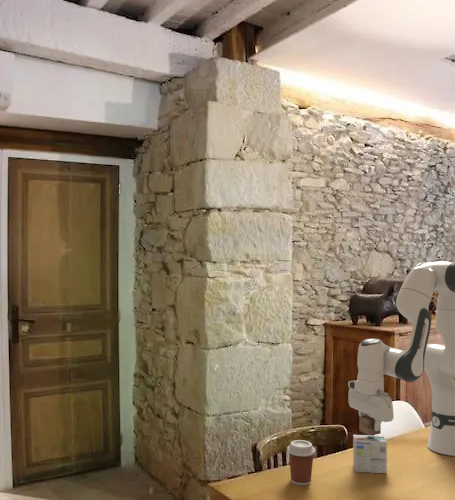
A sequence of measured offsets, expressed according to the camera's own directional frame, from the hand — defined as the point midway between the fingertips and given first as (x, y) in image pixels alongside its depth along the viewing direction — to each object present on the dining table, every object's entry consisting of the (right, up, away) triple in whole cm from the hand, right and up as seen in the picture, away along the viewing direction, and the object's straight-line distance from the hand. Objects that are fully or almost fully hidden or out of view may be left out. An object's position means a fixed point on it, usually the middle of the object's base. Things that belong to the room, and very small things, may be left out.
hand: (369, 427), depth 181 cm
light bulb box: (0, -14, 0) cm, 14 cm away
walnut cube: (0, -2, 0) cm, 2 cm away
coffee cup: (-25, -14, -11) cm, 31 cm away
